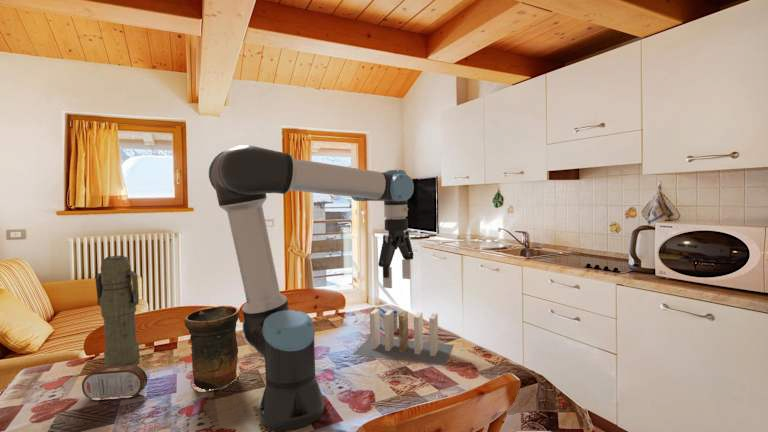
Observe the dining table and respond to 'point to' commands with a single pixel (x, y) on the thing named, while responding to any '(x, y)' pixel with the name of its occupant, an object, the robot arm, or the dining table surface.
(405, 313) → the oak domino
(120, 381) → the tin
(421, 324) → the domino
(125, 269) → the stone statue
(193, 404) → the dining table surface
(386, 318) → the domino
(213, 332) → the vessel
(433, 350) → the domino
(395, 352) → the mat
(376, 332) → the domino
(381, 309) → the medicine box
